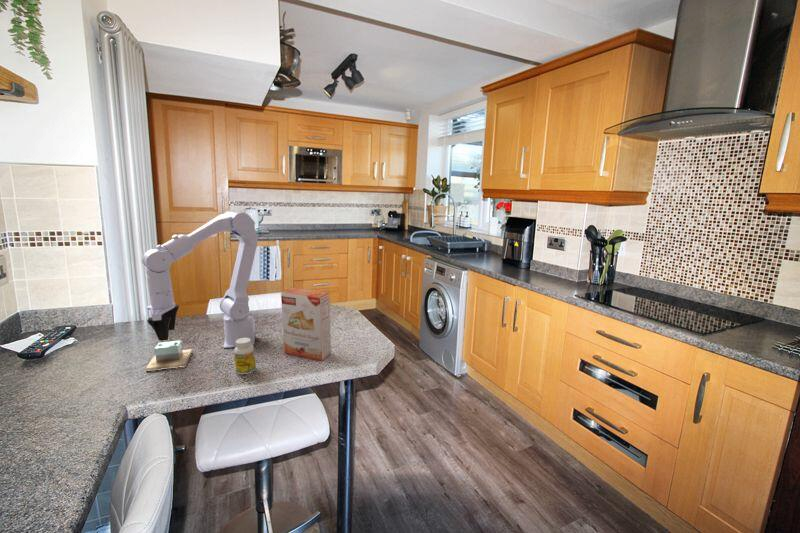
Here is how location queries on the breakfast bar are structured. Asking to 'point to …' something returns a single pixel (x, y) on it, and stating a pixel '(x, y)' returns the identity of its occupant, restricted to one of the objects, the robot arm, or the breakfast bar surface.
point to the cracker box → (306, 323)
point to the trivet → (167, 364)
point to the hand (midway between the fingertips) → (167, 334)
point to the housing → (168, 351)
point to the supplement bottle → (244, 356)
